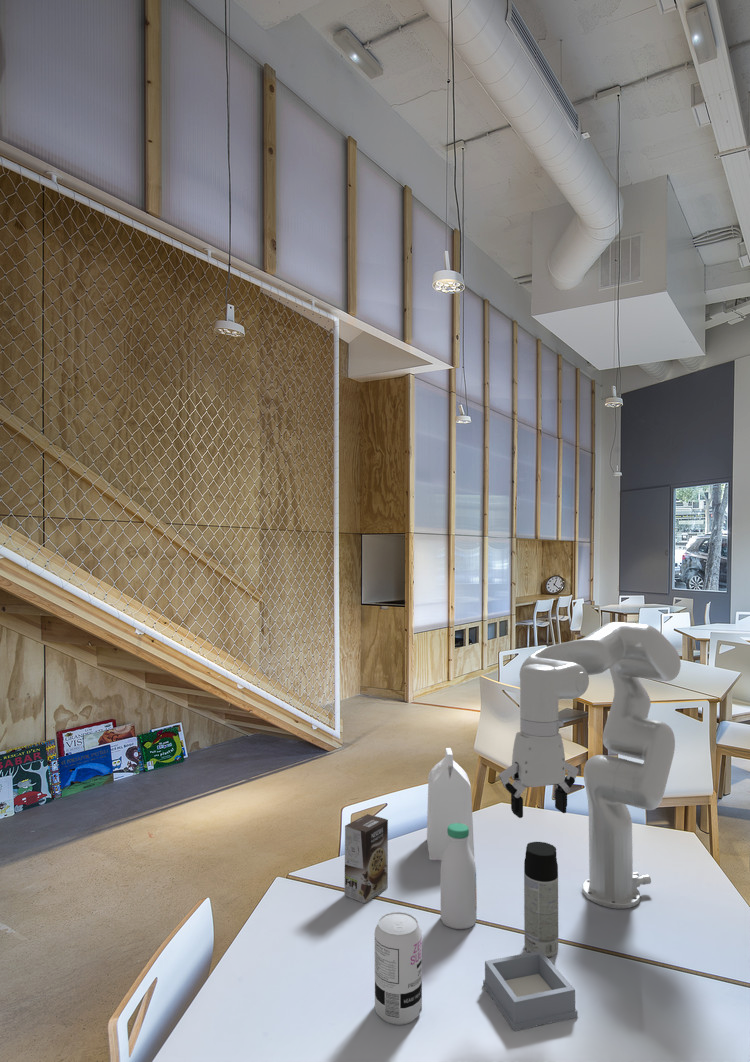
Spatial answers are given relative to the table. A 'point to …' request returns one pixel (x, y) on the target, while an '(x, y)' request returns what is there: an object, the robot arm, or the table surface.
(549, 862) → the spray can
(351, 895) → the coffee box
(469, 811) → the milk
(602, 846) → the robot arm
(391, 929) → the supplement can
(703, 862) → the table surface
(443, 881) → the milk bottle
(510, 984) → the holder
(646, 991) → the table surface
